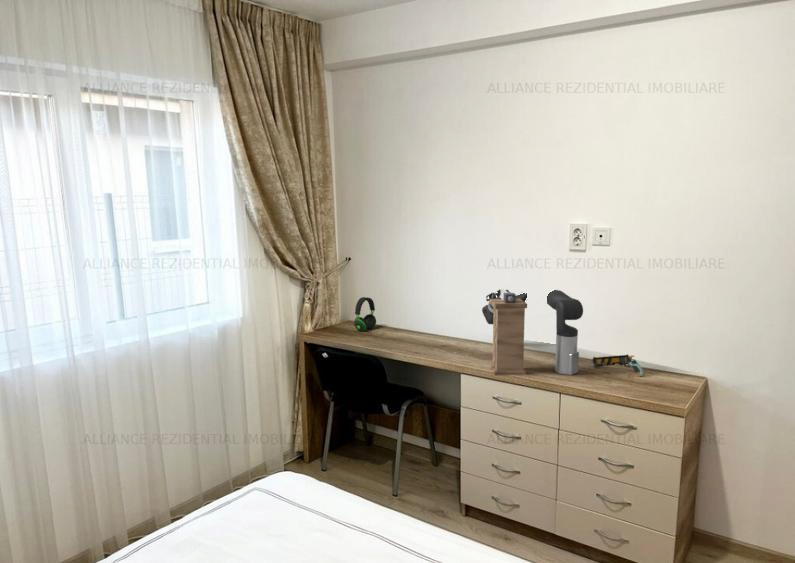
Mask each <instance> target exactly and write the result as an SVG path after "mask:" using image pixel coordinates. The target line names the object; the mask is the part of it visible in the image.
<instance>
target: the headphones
mask: <svg viewBox="0 0 795 563" xmlns="http://www.w3.org/2000/svg"><path fill="white" fill-rule="evenodd" d="M366 301H367V303H368V307H369V311H370V313H369V314H366V315H365V316H364V317H361V316H360V315H361V310H362V306H363V304H364V303H365V302H366ZM375 310H376V308H375V303H374V300H373V299H372V298H371V297H365V296H362V297H360V298H359V299H358V300H357V302H356V305H355V311H354V314H355V315H356V318H355V319H354V321H353V325H354V327H355V329H356V330H358V332H366V331H367V330H372V329H374V327H376V325H377V318H376V317H375V316H374V312H375Z"/></svg>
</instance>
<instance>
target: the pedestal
mask: <svg viewBox="0 0 795 563" xmlns="http://www.w3.org/2000/svg"><path fill="white" fill-rule="evenodd" d="M488 303H490V304H491V305H492V306H493V307H494V315H493V324H492V325H493V326H492V364H489V368H490V370H491V371H492V373H493V375H494V376H512V375H513V376H515V375H517V376H519V375H526V374H527V371H526V370H525V368H524V354H525V353H524V350H525V349H524V348H525V315H526V314H525V313H526V311H525V309H527V308H528V303H527V302H524V301H522V300H521V299H520V298H516V302H515V303H504V302H503V300H502V299H489V301H488Z"/></svg>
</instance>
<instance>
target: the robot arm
mask: <svg viewBox="0 0 795 563" xmlns="http://www.w3.org/2000/svg"><path fill="white" fill-rule="evenodd" d="M505 290H506V291H507V292H508V293H512V292H510V290H509V289H505ZM500 294H501V290H498V291H496V292H491V293H489V294H487V295H486V296H485V300H486V302H488V304H486V305H484V306H483V307H482V309H481V311H482V315H483V317H484V318H485V321H486V323H487V324H488V325H493V315H494V307H493V306H492V305H491V304H490V303H489V299H501V298H500V297H499V296H500ZM519 294H520V293H519ZM516 298H520V299H521V300H522V301H524V302H525V300H526V298H527V293H526V294H525V293H523V294H520V295H518V294H517V295H516ZM526 301H527V300H526ZM525 303H526V302H525ZM547 305H548V306H549V307H551V308H552V309H553V310H555V315H556V322H555V323H556V324H555V325H556V328H555V329H556V333H555V334H556V337H555V360H554V361H555V365H554V371H555V372H556V373H558V374H561V375H562V374H563V375H571V376H572V375H575V374H577V373H579V362H580V361H579V360H580V359H579V357H580V352H579V351H578V339H579V338H578V336H579V330H578V328H576V327H575V326H571V325H568V324H567V323H566V321H577V320H579V319H581V318H582V317H583V314H584V307H583V304H582V302H581V301H580V300H579V299H576V298H573V297H571V296H569V294H566V293H565V292H563V291H562V290H560V289H556V290H554V291H552V292H550V293H549V294H548V296H547Z"/></svg>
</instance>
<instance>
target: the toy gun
mask: <svg viewBox="0 0 795 563" xmlns="http://www.w3.org/2000/svg"><path fill="white" fill-rule="evenodd" d="M634 357H635V355H629V354H624V355H621V354H620V355H609V356H599V357H596V356H593V357H592V362H593V368H602V367H605V366H614V365H619V366H624V367H625V368H631V367H632V369H633V370H634V373H633V376H635V377H643V376H645V373H644V372H645V371H644V370H643V367H642V366H641V365H640V364H639V363H638V362H637V360H636V359H635V358H634ZM627 365H628V366H627Z"/></svg>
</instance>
